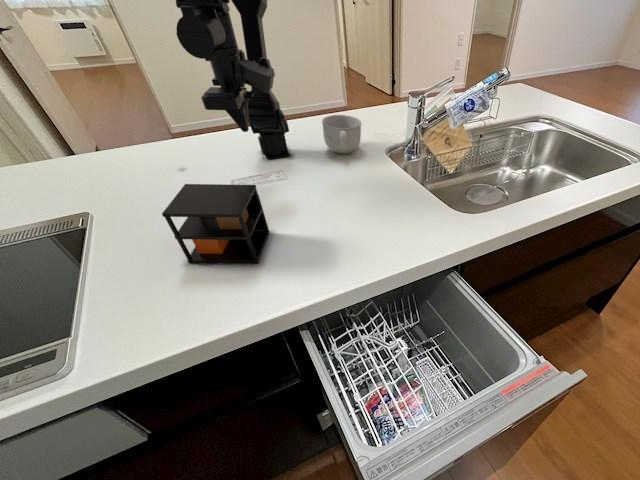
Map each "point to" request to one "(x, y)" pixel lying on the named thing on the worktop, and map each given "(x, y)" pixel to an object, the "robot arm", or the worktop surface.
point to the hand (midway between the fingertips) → (245, 131)
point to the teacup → (342, 133)
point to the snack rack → (220, 223)
